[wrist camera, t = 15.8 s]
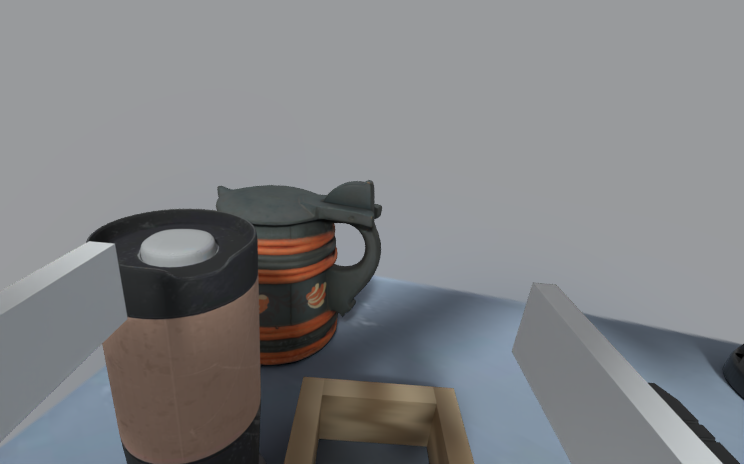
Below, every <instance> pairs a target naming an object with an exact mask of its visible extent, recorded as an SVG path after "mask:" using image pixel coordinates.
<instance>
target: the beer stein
mask: <svg viewBox="0 0 744 464" xmlns="http://www.w3.org/2000/svg"><path fill="white" fill-rule="evenodd" d="M218 196H219V198H218V200H217V203H216V208H217V211H221V212H226V213H230V214H233V215H237V216H239V217H242V218H244V219H246V220H247V221H249V222H250V223H251V224H252V225H253V226H254V228H255V229H256V232H257V239H258V283H259V330H260V364H261V365H276V364H284V363H291V362H295V361H299V360H302V359H304V358H306V357H309V356H311V355H313V354H315V353H316V352H318V351H319V350H321V349H322V348H323V347H324V346H325V345H326V344H327V343H328V341H329V340H330V339H331V337H332V336H333V334H334V332H335V330H336V325H337V316H338V313H340V315H341V316H342V317H343V316H344V315H345V313H347V312H349V311H350V310H351V309H352V308H353V306H354V305H355V303H356V301H355V300H354V297H355V296H356V295H357V294H358V293H359V292H360V291H361V290H362V289H363V288H364V287H365V286H366V285H367V283H368V282H369V281H370V279H371V278H372V276H373V275H374V273H375V271H376V269H377V266H378V264H379V260H380V255H381V242H380V238H379V234H378V231H377V229H376V226H375V223H374V219H376V218H378V217H379V216H380V215H381V211H382V206H381V205H378V204H374V185H373V182H372V181H370V180H368V181H366V182H361V181H359V182H358V181H353V182H347V183H344V184H342V185H340V186H338V187H337V188H335V189H333V190H332V191H331V192H330V193H329V194H328V195H318V194H316V193H313V192H310V191H307V190H304V189H300V188H295V187H289V186H273V185H267V186H255V187H246V188H241V189H235V190H231V189H228V188H225V187H223V186H218ZM334 223H346V224H350V225H352V226H354V227H355V228H356V229H358V230H359V231H360V233H361V234H362V236H363V238H364V241H365V254H364V256H363V258H362V260H361V261H360V262H358V263H357V264H355V265H352V266H339V265H335V264H334V263H335V261H336V259H337V248H336V238H335V225H334Z"/></svg>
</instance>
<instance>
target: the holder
mask: <svg viewBox="0 0 744 464" xmlns="http://www.w3.org/2000/svg"><path fill="white" fill-rule="evenodd" d="M319 439H327V440H341V441H355V442H369V443H383V444H397V445H411V446H425V447H427V451H428V458H429V464H474V461H473V457H472V453H471V450H470V446H469V443H468V439H467V435H466V432H465V428H464V424H463V421H462V417H461V414H460V410H459V406H458V403H457V399H456V395H455V392H454V388H441V387H429V386H416V385H403V384H391V383H378V382H365V381H353V380H340V379H327V378H315V377H303V381H302V385H301V390H300V394H299V399H298V403H297V407H296V412H295V416H294V421H293V425H292V429H291V434H290V438H289V443H288V447H287V451H286V456H285V460H284V464H315V462H316V455H317V448H318V441H319Z"/></svg>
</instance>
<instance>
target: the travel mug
mask: <svg viewBox="0 0 744 464" xmlns="http://www.w3.org/2000/svg"><path fill="white" fill-rule="evenodd" d="M89 241H91V242H102V243H113V244H115V247H116V253H117V259H118V265H119V271H120V277H121V283H122V289H123V294H124V300H125V306H126V312H127V318H128V319H127V320H126V321H125V322H124V323H123V324H122V325H121V326H120V327H119V328H118V329H117V330H116V331H115V332H114V333H113V334H112V335H110V336H109V337H108V338H107V339H106V340H105V341H104V342H103V343H102V344H103V350H104V355H105V360H106V365H107V371H108V376H109V381H110V386H111V392H112V397H113V402H114V407H115V413H116V418H117V423H118V428H119V434H120V437H121V442H122V446H123V449H124V453H125V457H126V461H127V464H259V436H260V408H261V377H260V330H259V283H258V239H257V232H256V229H255V228H254V226H253V225H252V224H251V223H250V222H249V221H247V220H246V219H244V218H242V217H239V216H237V215H233V214H230V213H226V212H221V211H215V210H205V209H170V210H160V211H152V212H146V213H141V214H136V215H132V216H128V217H125V218H121V219H118V220H116V221H113V222H111V223H108V224H107V225H104V226H102V227H101V228H99V229H97V230H96V231H95V232H93V233H92V234H91V235H90V236H89V238H88V239H87V241H86V243H87V242H89Z"/></svg>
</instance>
